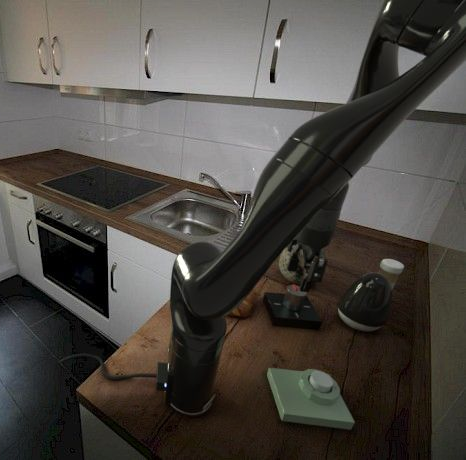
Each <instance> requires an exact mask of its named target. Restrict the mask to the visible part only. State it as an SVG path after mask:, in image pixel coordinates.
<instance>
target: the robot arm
mask: <svg viewBox="0 0 466 460" xmlns="http://www.w3.org/2000/svg"><path fill="white" fill-rule="evenodd" d="M400 48H403V49H406V50H408V51H411V52H412V53H416V54H419V55H421V56H423V57H424V58H422V59H421V60H420V61H419V62H417V63H416V64H415V65H414V66H412V67H410V68H409V69H408V70H407V71H405V72H404V73H402V74H401V75H400V69H399V51H400ZM465 62H466V0H383V1H382V3H381V5H380V8H379V9H378V12H377V14H376V15H375V19H374V20H373V24H372V26H371V29H370V32H369V35H368V37H367V41H366V44H365V46H364V51H363V53H362V57H361V59H360V64H359V67H358V70H357V74H356V77H355V81H354V84H353V87H352V90H351V91H350V94H349V96H348V99H347V101H346V102H345V103H344V104H341V105H339V106H337V107H334V108H332V109H329V110H327V111H325V112H323V113H321V114H319V115H317V116H315V117H313V118H311V119H309V120H307V121H305V122H304V123H302V124H301V125H299V126H298V127H297V128H296V129H294V130H293V131H292V133H290V135H289V136H288V138H287V139H286V140H285V141H284V142H283V144H282V145H281V146H280V147H279V148H278V149H277V150H276V152H275V154H274V155H273V156H272V157H271V158H270V159H269V161H267V163H266V164H265V166H264V168H263V169H262V171H261V173H260V175H259V177H258V179H257V181H256V184H255V187H254V190H253V193H252V196H251V199H250V202H249V206H248V209H247V212H246V215H245V217H244V219H243V221H242V225H241V226H240V228H239V229H238V231H237V233H236V234H235V236H234V237H233V238H232V240H231V241H230V242H229V243H228V244H227V246H226V247H225V248H224V249H222V248H221V247H219V246H218V245H217V244H216V243H213V242H208V241H203V240H202V241H195V242H192V243H190V244H188V245H186V246H185V247H184V248H182V250H180V251H179V253H178V254H177V255H176V257H175V259H174V262H173V265H172V268H171V274H170V275H171V276H170V292H169V312H170V320H171V321H170V334H169V342H168V346H167V350H166V361H165V362H161V361H158V362H157V364H156V373H147V372H135V373H129V374H122V375H117V376H113V375H109V374H108V373H107V370H106V368H105V363H104V360H103V359H102V358H101V357H99V356H97V355H95V354H92V353H75V354H72V355H69V356H66V357H64V358H62V359H61V360H59V363H60V364H64V363H66V362H67V361H70V360H73V359H79V358H90V359H94V360H96V361H98V362H99V364H100V369H101V373H102V375H103V376H104V378H106V379H107V380H110V381H119V380H125V379H133V378H154V379H155V378H156V379H155V381H156V383H155V391H159V392H163V395H164V396H163V397H164V398H163V405H164V406H165V407H170V408H171V410H173V411H174V412H175V413H177V414H179V415H181V416H183V417H187V418H199V417H201V416H203V415H205V414H206V413H208V412H209V410H210V408H211V407H212V403H213V400H214V399H215V398H216V394H214V391H215V386H216V381H217V377H218V372H219V368H220V363H221V358H222V355H223V348H224V344H225V340H226V335H227V330H228V329H227V327H228V326H227V320H226V316H228V314H229V313H231V312H232V311H233V310H235V309H236V308H237V307H238V306H239V305H240V304H241V303H242V302H243V301H244V300H245V299H246V297H247V296H248V295H249V294H251V292H252V291H253V290H254V289H255V288H256V286H257V285H258V283H259V282H260V281H261V280H262V278H263V277H264V276H265V275H266V273H267V272H268V270H269V269H270V267H271V266H272V265H273V264H274V263H275V262H276V260H277V259H278V257H280V255H281V253H282V252H283V250H284V249H285V248H286V247H287V246H288V245H289V246H288V249H287V251H288V252H290V254H289V257H290V260H289V263H288V266H287V270H288V271H291V272H295V271H296V270H297V267H298V264H299V261H300V260H301V268H302V269H303V273H304V277H303V279H302V282H301V284H299V286H300V287H299V289H300V291H301V292H307V293H309V292H311V289H312V287H313V284H314V283H322V280H323V278H324V274H325V271H326V268H327V266H328V262H329V260H328V258H326V259H325V258H321V257H320V256H321V249H322V248H324V249H325V248H327V247H328V246H330V245H331V242H332V239H333V236H334V234H335V232H336V228H337V226H338V223H339V220H340V217H341V212H342V209H343V205H344V204H345V201H346V198H347V195H348V192H349V189H350V183H349V182H350V181H351V180H352V179H353V178H354V177H355V175H356V174H357V173H358V172H359V171H360V170H361V169H362V168H363V167H365V166H366V165H368V164H369V163H370V162H371V160H372V159H373V156H374V154H375V153H376V152H377V151H378V150H379V149H380V148H381V146H383V144H384V143H385V142H386V141H387V140H388V139H389V138H390V136H392V134H393V133H394V132H395V131H396V130H397V129H398V128H399V127H400V126H401V124H402V123H403V122H405V120H407V118H408V117H409V116H410V115H411V114H412V113H413V112H414V111H415V110H416V109H417V108H419V106H421V104H422V103H424V102H425V101H426V99H428V98H429V97H430V96H431V95H432V94H433V93H434V92H435V91H436V90H437V89H438V88H439V87H440V86H441V85H442V84H443V83H444V82H445V81H447V80H448V78H450V76H452V75H453V74H454V73H455V72H456V71H457V70H458V69H459V68H460V67H461V66H462V65H463V64H464V63H465ZM293 245H295V247H294V248H292V247H293ZM299 258H300V259H299ZM306 264H312V265H311V266H307V265H306ZM308 269H310V272H309V274H308ZM317 273H318V276H317Z"/></svg>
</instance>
